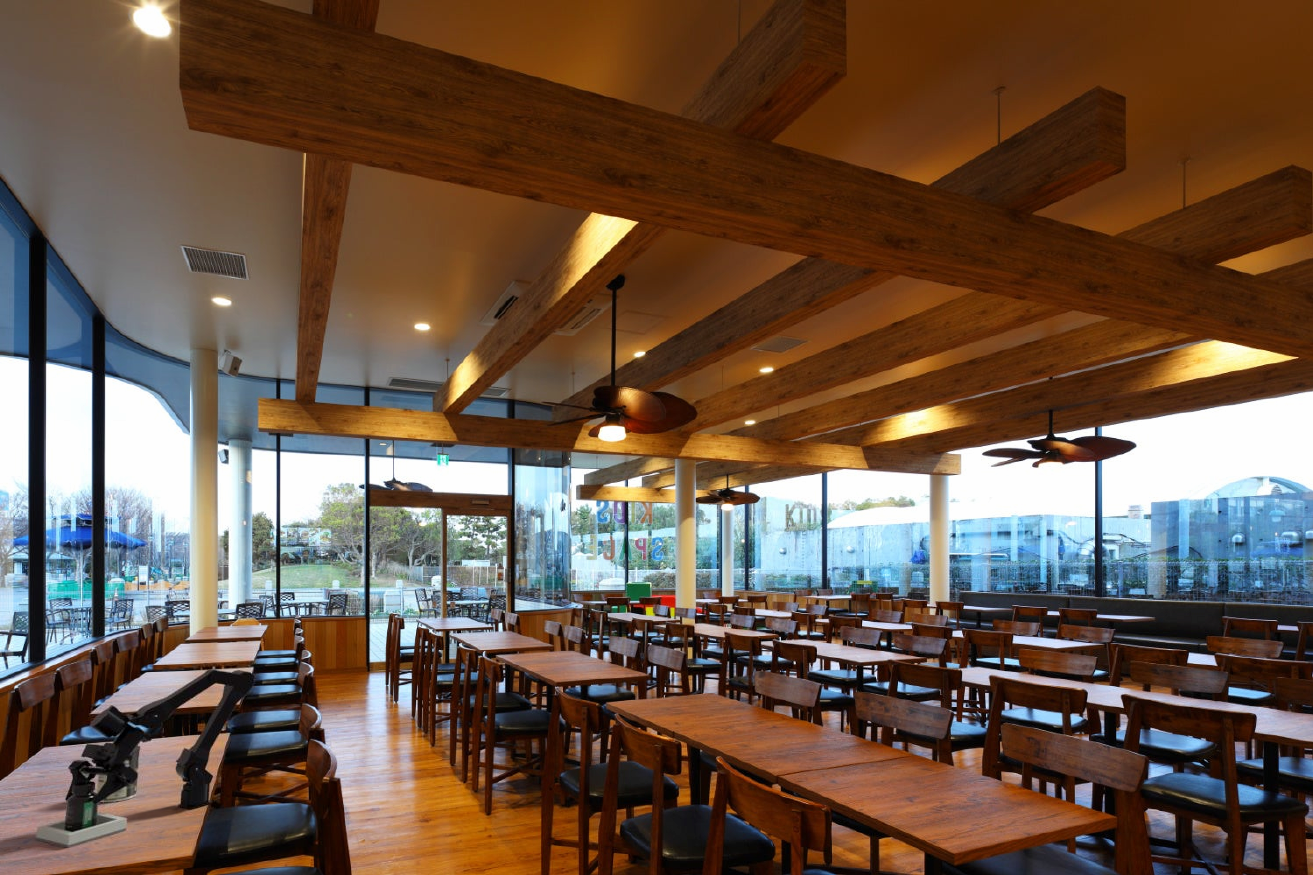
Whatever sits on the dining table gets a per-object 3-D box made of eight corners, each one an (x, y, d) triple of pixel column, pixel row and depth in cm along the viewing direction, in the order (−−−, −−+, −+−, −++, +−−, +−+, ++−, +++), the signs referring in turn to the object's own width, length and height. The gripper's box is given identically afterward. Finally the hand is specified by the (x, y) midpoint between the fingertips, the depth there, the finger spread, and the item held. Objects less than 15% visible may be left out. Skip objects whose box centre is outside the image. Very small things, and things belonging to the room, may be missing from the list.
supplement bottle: (93, 833, 208) (98, 784, 210) (61, 838, 205) (66, 788, 207) (97, 826, 214) (101, 778, 216) (66, 830, 211) (70, 782, 213)
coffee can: (126, 791, 249) (130, 743, 251) (143, 796, 244) (147, 747, 246) (88, 799, 240) (93, 750, 242) (105, 805, 235) (109, 754, 237)
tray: (94, 823, 219) (95, 811, 219) (125, 830, 213) (126, 818, 213) (36, 839, 206) (37, 827, 207) (68, 847, 200) (69, 834, 201)
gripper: (78, 728, 219) (33, 782, 207) (132, 732, 214) (89, 787, 202) (102, 752, 226) (60, 805, 214) (155, 756, 221) (115, 810, 209)
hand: (80, 801), depth 209 cm, fingers open, 9 cm apart
